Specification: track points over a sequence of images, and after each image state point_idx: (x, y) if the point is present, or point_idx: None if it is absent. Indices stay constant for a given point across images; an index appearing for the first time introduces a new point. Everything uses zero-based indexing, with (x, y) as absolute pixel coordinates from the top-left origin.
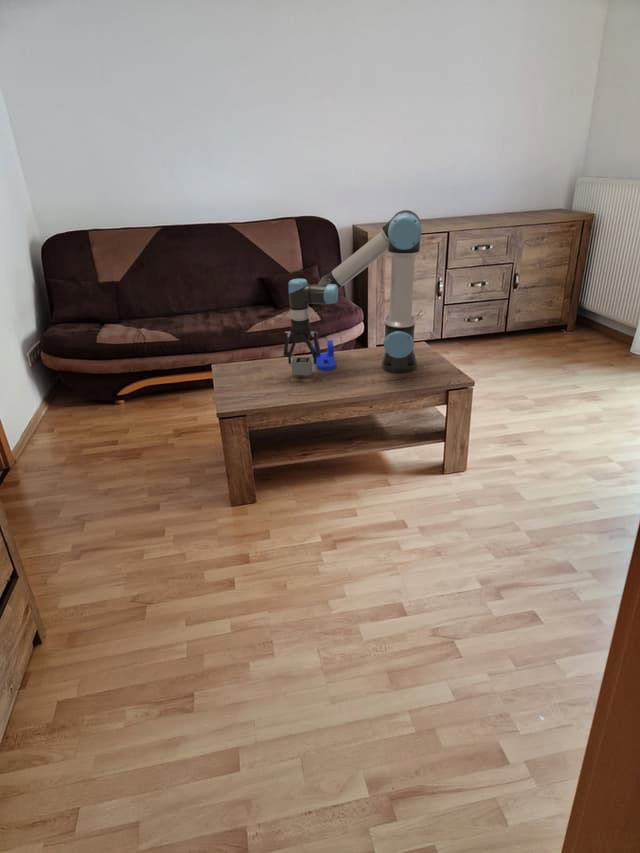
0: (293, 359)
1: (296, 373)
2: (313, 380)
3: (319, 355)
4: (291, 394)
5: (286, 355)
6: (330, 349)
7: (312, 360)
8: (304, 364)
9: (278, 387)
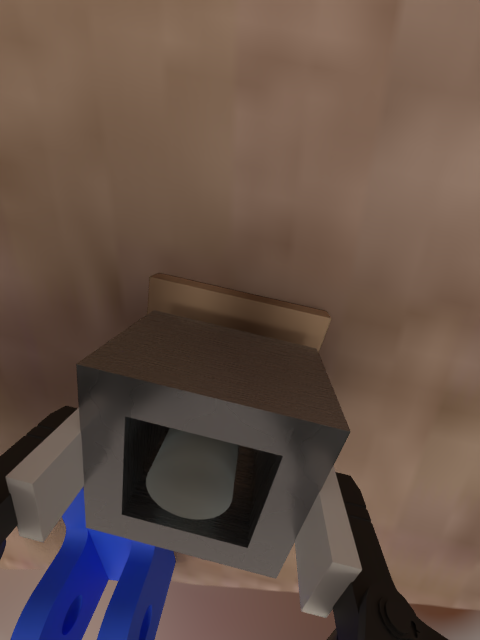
0: (303, 528)
1: (280, 345)
2: (154, 276)
3: (129, 564)
4: (363, 8)
5: (439, 637)
6: (47, 598)
7: (58, 437)
8: (168, 376)
9: (442, 233)
